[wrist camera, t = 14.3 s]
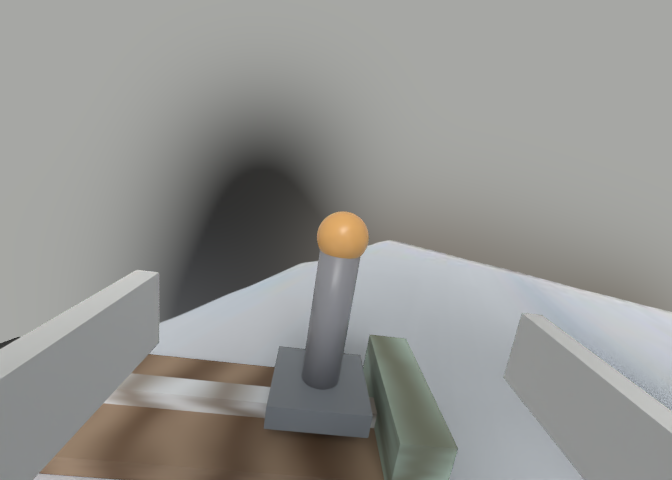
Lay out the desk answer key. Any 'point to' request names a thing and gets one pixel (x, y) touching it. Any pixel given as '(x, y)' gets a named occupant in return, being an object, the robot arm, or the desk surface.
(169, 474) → the track bed
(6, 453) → the robot arm
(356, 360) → the lever
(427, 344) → the desk surface
